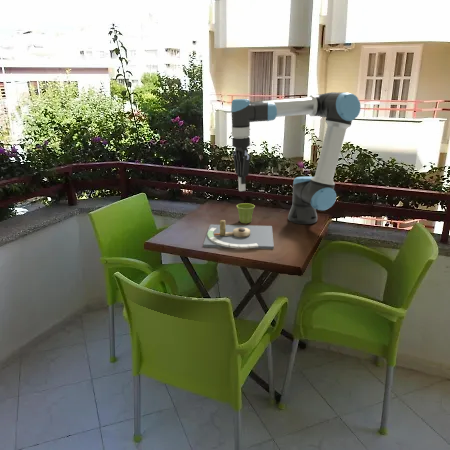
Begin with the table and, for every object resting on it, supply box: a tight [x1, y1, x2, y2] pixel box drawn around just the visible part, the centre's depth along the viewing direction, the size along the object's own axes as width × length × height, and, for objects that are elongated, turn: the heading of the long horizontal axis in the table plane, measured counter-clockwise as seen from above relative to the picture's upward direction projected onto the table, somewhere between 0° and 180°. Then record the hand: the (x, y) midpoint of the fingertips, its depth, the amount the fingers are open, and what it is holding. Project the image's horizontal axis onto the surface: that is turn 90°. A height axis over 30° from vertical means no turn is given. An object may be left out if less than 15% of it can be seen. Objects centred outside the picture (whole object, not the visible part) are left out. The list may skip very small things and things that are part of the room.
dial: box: [214, 219, 250, 237], centre depth 180 cm, size 17×8×7 cm, turn 97°
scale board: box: [202, 224, 275, 250], centre depth 180 cm, size 31×29×2 cm
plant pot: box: [236, 202, 256, 224], centre depth 201 cm, size 9×9×9 cm
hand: (242, 190), depth 173 cm, fingers closed
